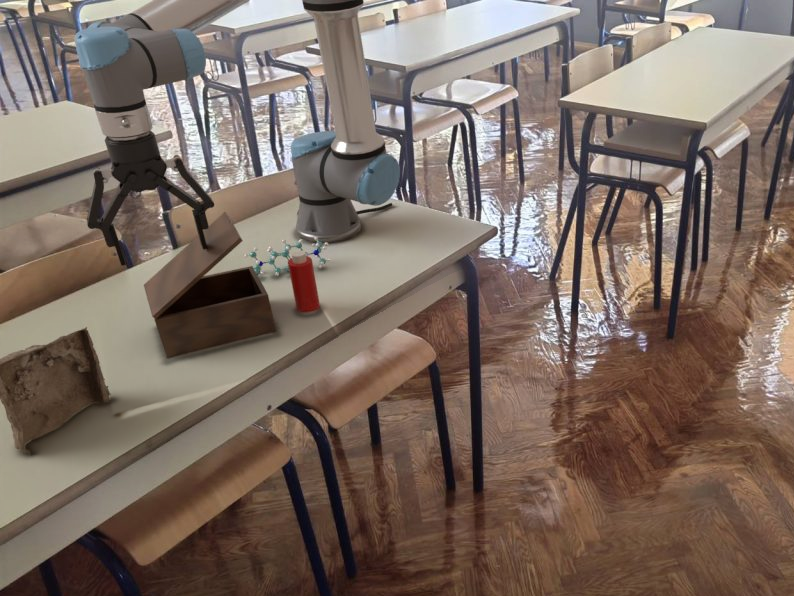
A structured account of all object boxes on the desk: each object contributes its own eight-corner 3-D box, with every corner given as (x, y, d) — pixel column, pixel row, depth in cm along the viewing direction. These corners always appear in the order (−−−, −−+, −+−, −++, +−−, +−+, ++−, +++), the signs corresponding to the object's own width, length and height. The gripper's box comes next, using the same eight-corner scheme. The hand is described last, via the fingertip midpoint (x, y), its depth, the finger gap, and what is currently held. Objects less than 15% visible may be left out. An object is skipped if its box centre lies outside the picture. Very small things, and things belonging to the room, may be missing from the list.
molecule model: (247, 273, 167) (240, 242, 162) (326, 257, 173) (322, 228, 168) (253, 289, 161) (246, 258, 156) (335, 272, 167) (330, 242, 162)
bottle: (316, 302, 156) (306, 246, 148) (323, 312, 152) (313, 255, 145) (294, 307, 154) (283, 251, 147) (300, 318, 151) (289, 260, 143)
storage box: (261, 305, 155) (252, 265, 150) (276, 335, 145) (268, 294, 140) (158, 328, 148) (145, 288, 142) (168, 362, 138) (154, 320, 133)
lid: (228, 214, 142) (225, 211, 142) (242, 240, 133) (239, 237, 132) (146, 287, 142) (143, 284, 142) (155, 319, 133) (152, 316, 132)
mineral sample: (28, 457, 117) (-12, 376, 108) (11, 450, 118) (-30, 369, 109) (118, 399, 129) (88, 322, 120) (101, 393, 130) (71, 316, 122)
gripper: (42, 152, 115) (88, 278, 127) (213, 128, 124) (240, 247, 136) (41, 138, 120) (86, 260, 132) (205, 117, 129) (232, 232, 142)
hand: (164, 254), depth 134 cm, fingers open, 13 cm apart
